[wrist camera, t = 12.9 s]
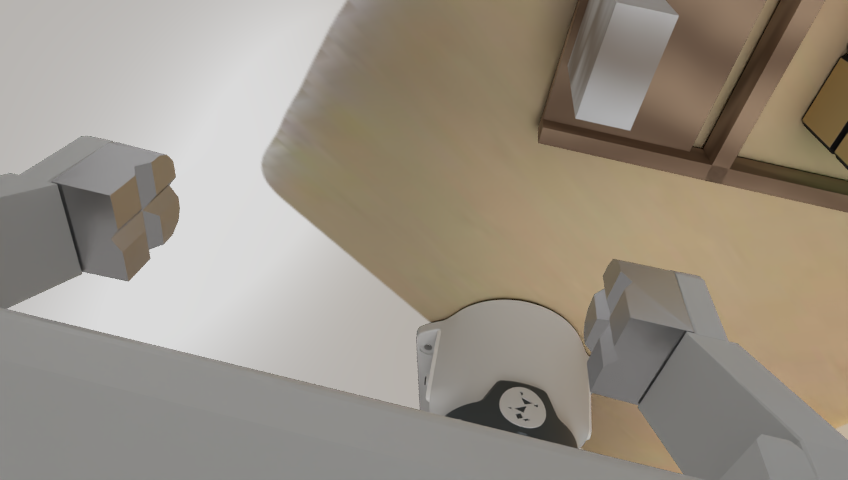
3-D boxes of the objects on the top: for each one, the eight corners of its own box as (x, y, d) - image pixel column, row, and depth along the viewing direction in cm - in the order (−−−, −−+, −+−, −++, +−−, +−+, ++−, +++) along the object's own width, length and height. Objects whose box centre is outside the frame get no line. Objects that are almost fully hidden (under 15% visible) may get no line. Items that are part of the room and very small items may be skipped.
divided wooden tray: (919, 213, 40) (1017, 306, 32) (537, 128, 41) (538, 196, 33) (1129, -31, 30) (1346, 12, 22) (620, -136, 31) (650, -130, 23)
